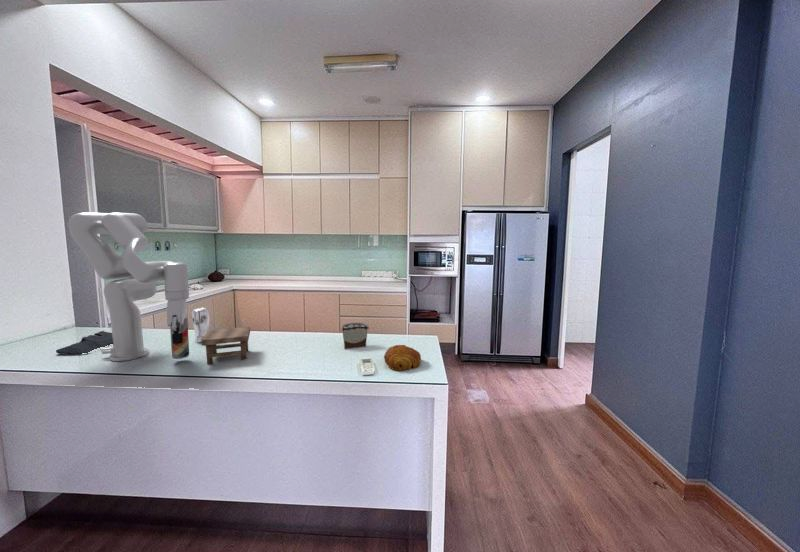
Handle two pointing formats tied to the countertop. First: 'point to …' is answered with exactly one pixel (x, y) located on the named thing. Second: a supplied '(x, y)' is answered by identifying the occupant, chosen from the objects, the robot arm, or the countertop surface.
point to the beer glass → (200, 323)
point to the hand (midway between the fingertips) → (179, 340)
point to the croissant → (402, 358)
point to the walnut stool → (226, 337)
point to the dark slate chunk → (89, 343)
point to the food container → (354, 335)
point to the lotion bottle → (181, 348)
